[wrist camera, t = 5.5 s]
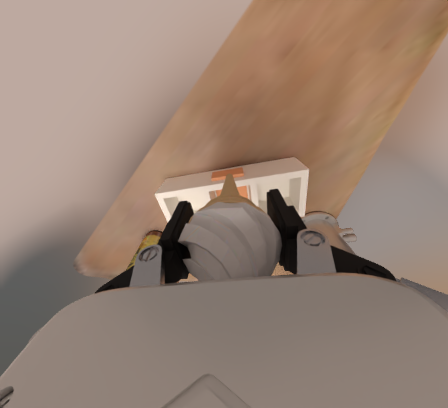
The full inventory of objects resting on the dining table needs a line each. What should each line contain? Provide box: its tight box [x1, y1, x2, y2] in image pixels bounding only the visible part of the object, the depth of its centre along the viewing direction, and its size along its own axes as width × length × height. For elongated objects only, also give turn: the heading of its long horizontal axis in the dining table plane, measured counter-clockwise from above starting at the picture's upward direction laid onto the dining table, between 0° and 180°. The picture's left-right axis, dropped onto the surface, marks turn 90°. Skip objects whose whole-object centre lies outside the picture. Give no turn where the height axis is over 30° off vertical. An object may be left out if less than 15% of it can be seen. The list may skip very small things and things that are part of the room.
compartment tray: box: [155, 157, 309, 222], centre depth 34 cm, size 28×11×7 cm, turn 100°
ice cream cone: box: [178, 173, 282, 281], centre depth 11 cm, size 6×6×15 cm
